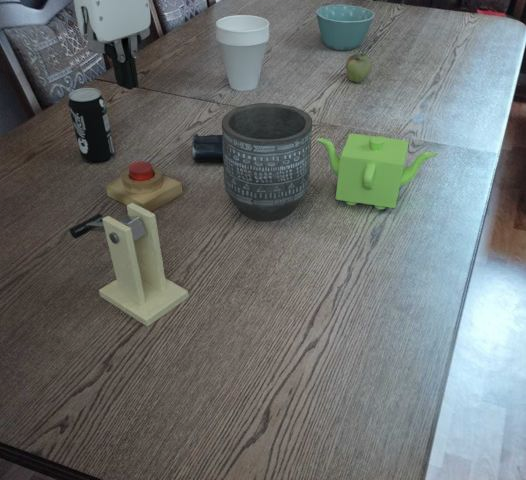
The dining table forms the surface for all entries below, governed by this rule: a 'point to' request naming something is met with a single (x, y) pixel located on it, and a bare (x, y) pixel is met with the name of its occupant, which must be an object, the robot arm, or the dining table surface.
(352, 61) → the apple
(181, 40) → the dining table surface
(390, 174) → the teapot
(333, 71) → the dining table surface
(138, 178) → the button
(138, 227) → the switch lever
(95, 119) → the beverage can
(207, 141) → the electronic device
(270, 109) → the planter
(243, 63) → the cup
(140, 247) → the switch bracket
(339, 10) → the bowl
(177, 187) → the button block
